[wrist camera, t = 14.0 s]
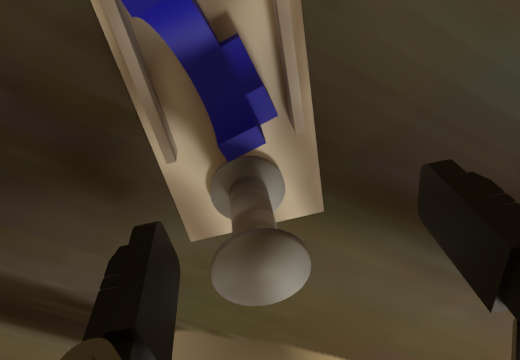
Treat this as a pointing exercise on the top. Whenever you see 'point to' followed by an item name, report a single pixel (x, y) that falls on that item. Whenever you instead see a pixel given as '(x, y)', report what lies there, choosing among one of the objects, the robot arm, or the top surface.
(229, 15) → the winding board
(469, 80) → the top surface
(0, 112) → the top surface
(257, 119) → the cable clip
